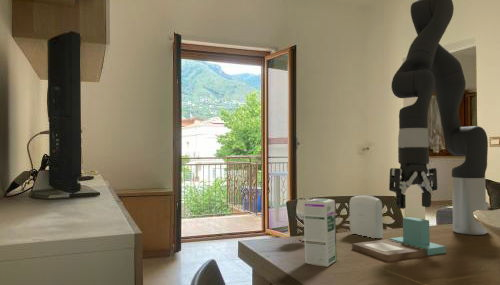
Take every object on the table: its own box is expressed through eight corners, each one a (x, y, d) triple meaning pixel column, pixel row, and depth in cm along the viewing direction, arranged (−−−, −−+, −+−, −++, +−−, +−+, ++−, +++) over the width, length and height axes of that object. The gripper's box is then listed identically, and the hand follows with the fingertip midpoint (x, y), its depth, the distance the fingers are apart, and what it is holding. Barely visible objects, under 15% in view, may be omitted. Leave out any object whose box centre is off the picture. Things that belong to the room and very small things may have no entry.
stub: (406, 242, 110) (405, 214, 110) (445, 252, 98) (445, 222, 98) (389, 244, 108) (389, 216, 108) (427, 255, 96) (427, 224, 96)
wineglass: (294, 241, 112) (293, 199, 113) (299, 237, 118) (299, 197, 118) (314, 243, 110) (313, 200, 111) (318, 239, 116) (318, 198, 116)
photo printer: (347, 234, 121) (347, 194, 122) (356, 232, 124) (355, 193, 124) (377, 240, 113) (376, 197, 114) (385, 238, 116) (384, 196, 116)
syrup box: (328, 267, 87) (327, 201, 88) (303, 263, 90) (303, 200, 91) (337, 261, 92) (336, 199, 92) (313, 257, 95) (312, 197, 96)
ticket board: (388, 245, 107) (388, 238, 107) (426, 256, 95) (426, 249, 95) (352, 249, 103) (352, 242, 103) (387, 262, 91) (387, 254, 91)
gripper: (422, 146, 110) (423, 204, 109) (382, 145, 104) (382, 207, 104) (445, 146, 103) (445, 208, 102) (403, 145, 97) (403, 210, 97)
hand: (413, 207), depth 103 cm, fingers open, 8 cm apart
